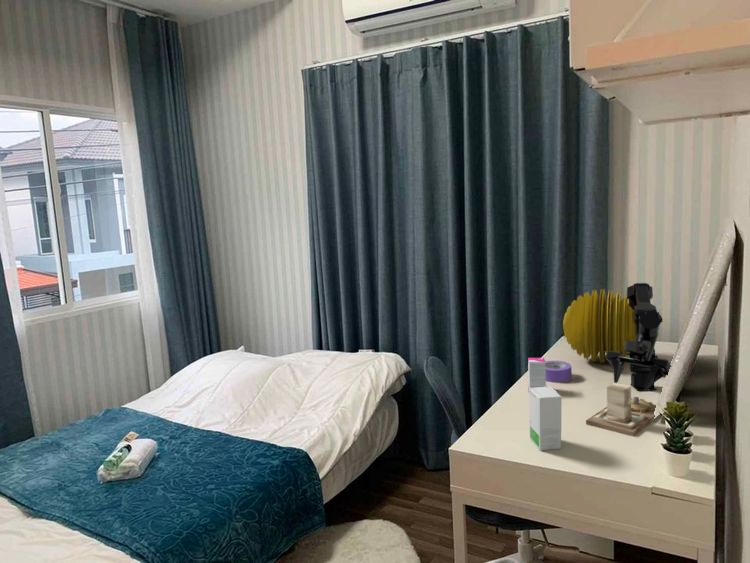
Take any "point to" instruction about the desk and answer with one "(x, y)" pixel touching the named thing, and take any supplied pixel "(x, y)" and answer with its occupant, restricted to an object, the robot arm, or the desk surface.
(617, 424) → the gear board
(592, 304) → the lamp
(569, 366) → the tape roll
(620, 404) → the marble stone block
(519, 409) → the desk surface
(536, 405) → the skincare box
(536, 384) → the supplement box
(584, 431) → the desk surface
